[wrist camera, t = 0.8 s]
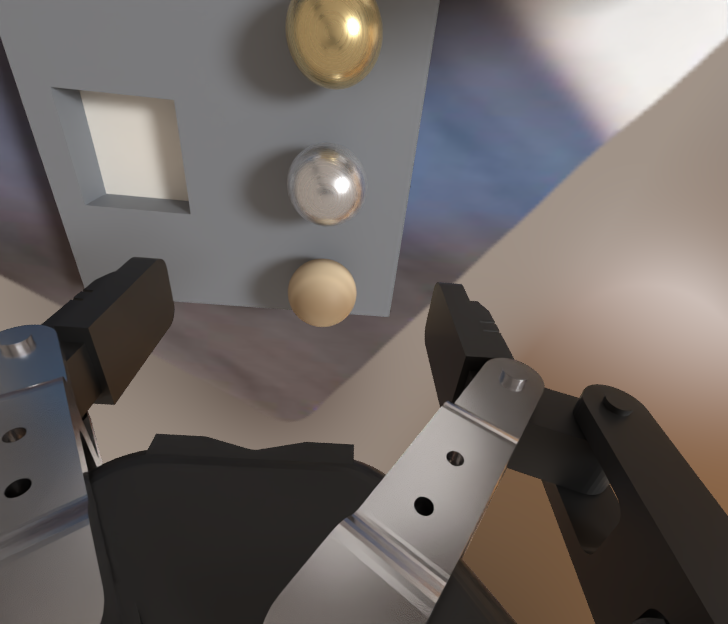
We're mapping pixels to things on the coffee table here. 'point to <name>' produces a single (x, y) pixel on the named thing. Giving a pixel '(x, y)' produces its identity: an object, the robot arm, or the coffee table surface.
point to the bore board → (214, 140)
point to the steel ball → (327, 184)
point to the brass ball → (334, 40)
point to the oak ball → (322, 292)
